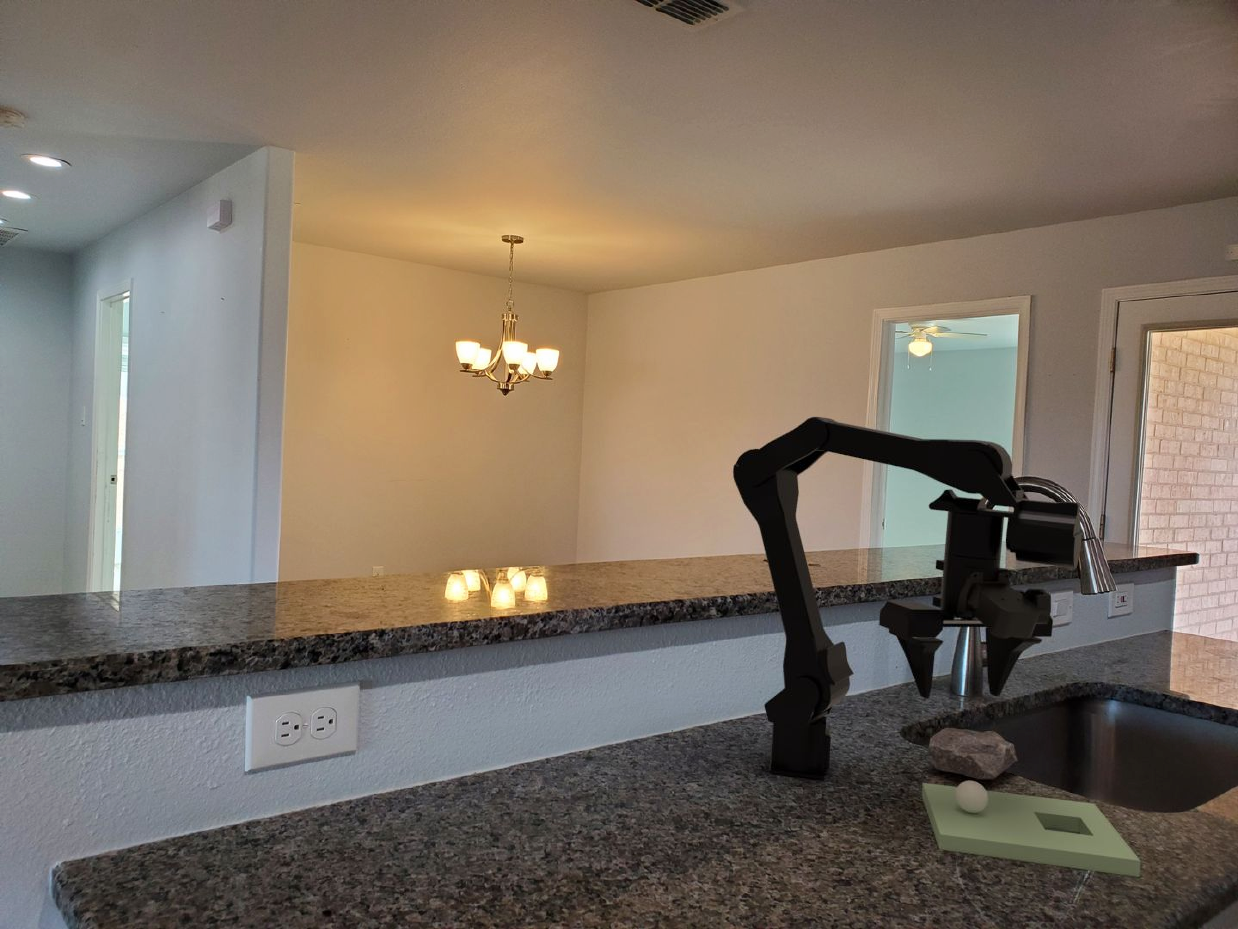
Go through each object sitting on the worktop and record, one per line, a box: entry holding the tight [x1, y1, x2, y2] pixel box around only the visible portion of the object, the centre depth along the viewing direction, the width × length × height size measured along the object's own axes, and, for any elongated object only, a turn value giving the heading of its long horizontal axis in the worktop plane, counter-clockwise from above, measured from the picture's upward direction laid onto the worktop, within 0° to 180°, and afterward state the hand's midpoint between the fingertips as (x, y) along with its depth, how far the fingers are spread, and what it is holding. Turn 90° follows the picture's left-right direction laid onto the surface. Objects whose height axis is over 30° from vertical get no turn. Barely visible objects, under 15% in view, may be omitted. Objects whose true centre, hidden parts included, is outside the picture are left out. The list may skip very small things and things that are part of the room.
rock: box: [928, 727, 1019, 780], centre depth 111 cm, size 8×11×5 cm
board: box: [921, 782, 1141, 878], centre depth 94 cm, size 18×14×2 cm
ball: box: [955, 780, 988, 813], centre depth 95 cm, size 3×3×3 cm
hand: (960, 696), depth 99 cm, fingers open, 9 cm apart
